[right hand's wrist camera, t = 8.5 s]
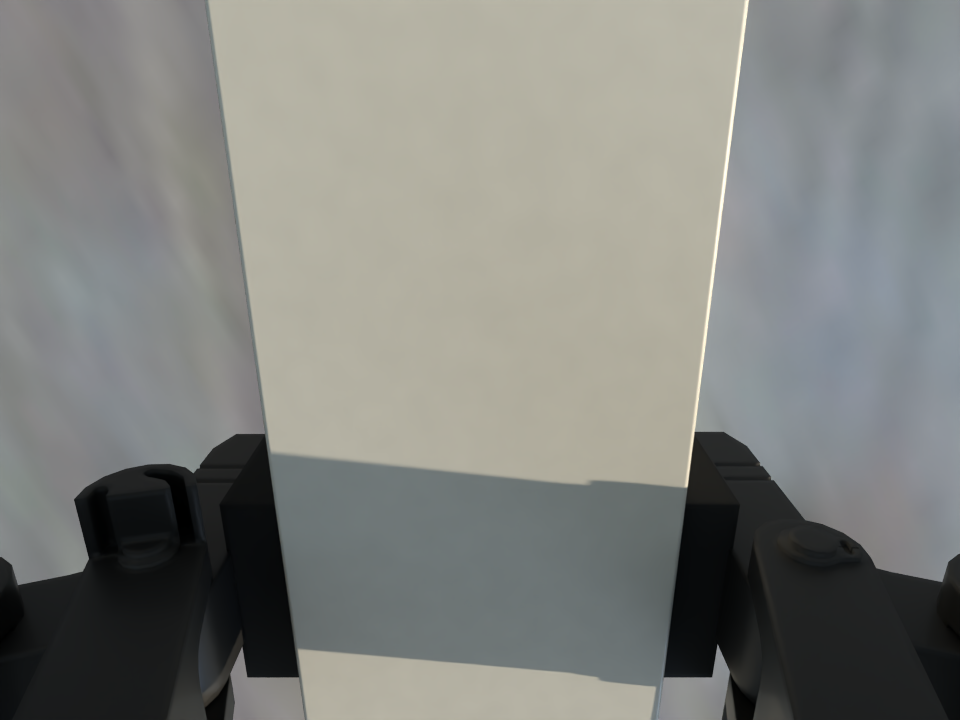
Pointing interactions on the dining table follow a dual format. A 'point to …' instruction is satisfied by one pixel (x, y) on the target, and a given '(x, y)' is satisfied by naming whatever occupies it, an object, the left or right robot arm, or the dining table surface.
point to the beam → (478, 334)
